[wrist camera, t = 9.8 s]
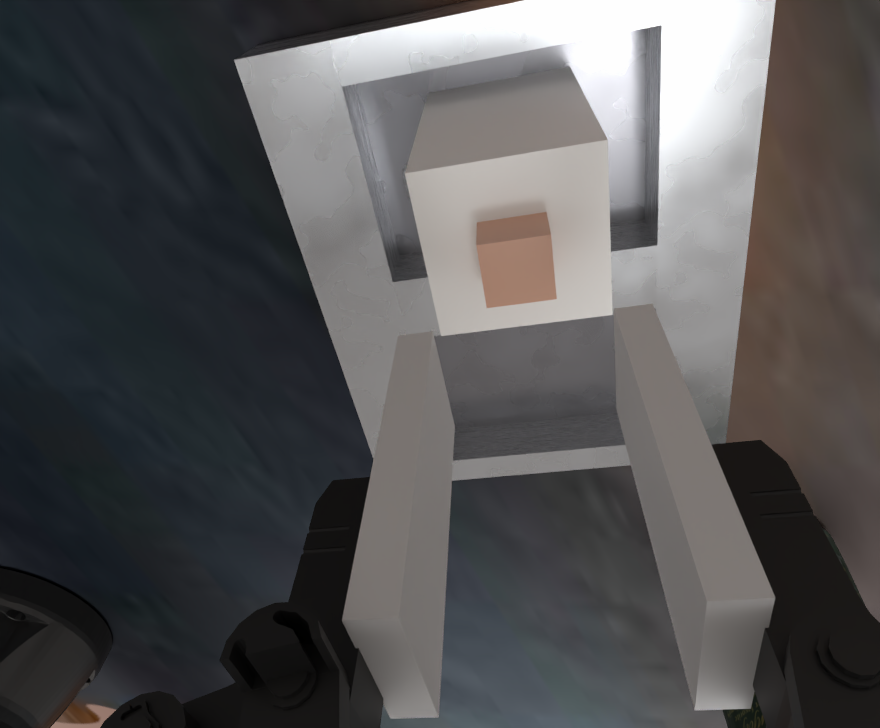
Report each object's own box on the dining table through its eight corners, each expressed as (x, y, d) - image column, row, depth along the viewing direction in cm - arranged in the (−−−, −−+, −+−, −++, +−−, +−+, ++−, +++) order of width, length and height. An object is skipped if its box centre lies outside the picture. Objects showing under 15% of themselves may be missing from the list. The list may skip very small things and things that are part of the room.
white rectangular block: (452, 222, 28) (438, 363, 19) (428, 93, 24) (398, 193, 16) (578, 203, 27) (621, 341, 18) (569, 66, 24) (617, 158, 15)
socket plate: (389, 448, 37) (383, 486, 35) (258, 44, 24) (234, 60, 22) (707, 417, 34) (723, 456, 32) (748, -58, 21) (781, -53, 19)
